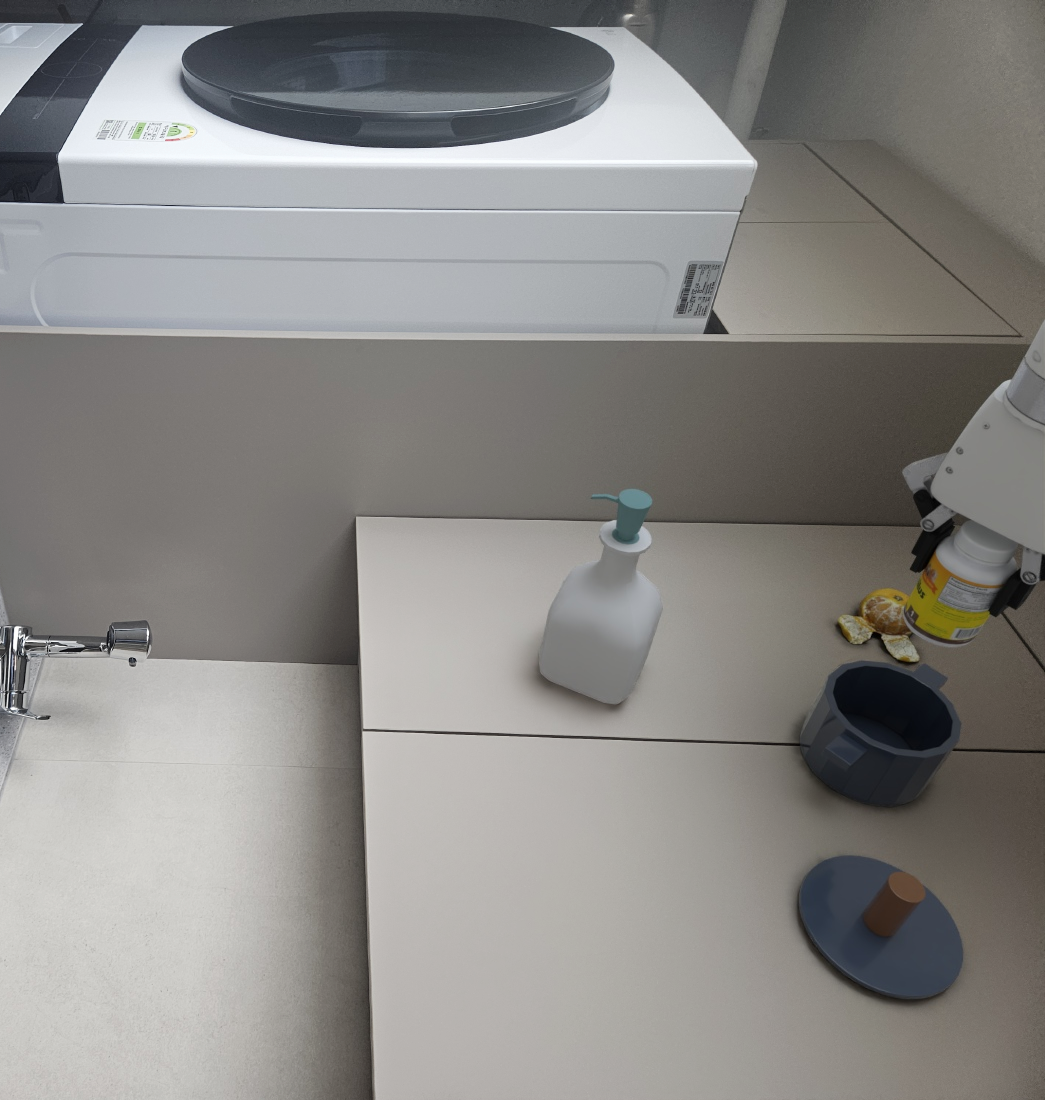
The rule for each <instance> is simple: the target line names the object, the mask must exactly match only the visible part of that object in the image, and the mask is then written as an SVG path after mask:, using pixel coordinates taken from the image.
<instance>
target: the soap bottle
mask: <svg viewBox="0 0 1045 1100" xmlns="http://www.w3.org/2000/svg"><path fill="white" fill-rule="evenodd" d="M590 500H608V501H610V502H613V503H617V512H616V519H612V520H610V521H607V522H605V523H604V524H602V526H601V527H600V530H599V534H598V539H599V541H600V543H601V544H602V546H603V548H602V552H601V556H600V559H596V560H591V561H587V562H586V561H585V562H583V563H581V564H579V565H577V566H574V567H573V568H572V569H571V570H570V572H569V573H568V574H567V576H565V578H564V580H563V581H562V583H561V586H560V588H559V589H558V592H557V593H556V595H555V597H554V599H553V600H552V602H551V604H550V607H549V609H548V611H547V616H546V622H545V626H544V630H543V635H542V641H541V644H540V649H539V653H538V663H539V672H540V674H541V675H542V676H543V677H544V678H546V679H547V680H548V681H549V682H551V683H554V684H556V685H558V686H561V687H563V688H565V689H569V690H571V691H573V692H576V693H578V694H580V695H584V696H586V697H588V698H590V699H594V700H596V701H598V702H600V703H603V704H609V705H618V704H621V703H622V702H623V701H625V700H627V699H628V697H629V696H630V695H631V694H632V693H633V690H634V688H635V686H636V683H637V681H638V679H639V677H640V675H641V672H642V670H643V668H644V666H645V663H646V661H647V660H648V656H649V653H650V651H651V647H652V645H653V641H654V637H655V636H656V635H655V634H656V632H657V628H658V626H659V623H660V620H661V617H662V614H663V610H664V604H663V601H662V595H661V593H660V590H659V588H658V587H657V586H656V585H655V584H654V583H653V582H652V581H651V580H649V578H647V577H646V576H645V575H644V574H643V573H642V572H641V571H640V570H638V569H637V566H638V563H639V559H640V556H641V555H642V554H645V553H646V552H648V550H649V549H650V548H651V545H652V538H653V537H652V536H651V535H652V534H651V533H650V531H649V530H648V529H646V527H644V526H643V525H644V523H645V519H646V518H647V516H648V513H649V511H650V509H651V506H652V504H653V498H652V497H651V495H650V494H648V493H647V492H646V491H643V490H641V489H637V488H626V489H624V490H622V491H621V492H619V494H618V496H615V495H611V494H609V493H600V494H599V493H597V494H596V493H595V494H591V496H590Z"/></svg>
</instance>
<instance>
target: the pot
mask: <svg viewBox="0 0 1045 1100" xmlns="http://www.w3.org/2000/svg"><path fill="white" fill-rule="evenodd" d="M948 680H949V677H948V676H946V675H944V674H942V673H941V672H939V671H938V670H936V669H935V668H933V667H931V666H930V665H928V664H926V663H925V662H923V663H922V664H920V665H919V666H918V667H916V669H914V670H910V669H907V668H903V667H901V666H899V665H895V664H893V663H890V662H884V661H874V660H865V659H863V660H862V659H861V660H857V661H852V662H851V661H850V662H847V663H842V664H840V666H838V667H837V668H836V669H834V670H833V671H832V672H831V673H830V674H828V676H827V677H826V679H825V681H824V683H823V684H822V687H821V689H820V691H819V693H818V695H817V697H816V699H815V701H814V702H813V705H812V706H811V708H810V710H809V712H808V713H807V716H806V717H805V720H804V722H803V726H802V728H801V730H800V733H799V747H800V751H801V754H802V757H803V759H804V761H805V763H806V764H807V766H808V767H809V769H810V770H811V771H812V772H813V773H814V775H815V776H816V777H818V778H819V779H820V780H821V782H823V783H824V784H826V785H827V786H828V787H829V788H830V789H832V790H834V791H835V792H837V793H839V794H841V795H842V796H845V797H846V798H848V799H851V800H853V801H856V802H859V803H861V804H866V805H869V806H876V807H898V806H903V805H905V804H909V803H910V802H912V801H914V800H915V799H917V798H918V797H919V796H920V795H921V794H922V793H923V791H925V790H926V788H927V787H928V786H929V785H930V783H931V782H932V780H933V779H934V778H935V776H936V775H937V773H938V772H939V771H940V769H941V768H942V766H943V765H944V764H945V762H946V760H948V758H949V756H950V755H951V753H952V752H953V750H954V749H955V747H956V746H957V745H958V743H959V742H960V740H961V731H962V720H961V719H960V716H959V714H958V712H957V709H956V708H955V705H954V704H953V702H952V701H951V700H950V699H949V697H947V696H946V695H945V694H944V693H943V692H942V691H941V690H940V689H942V687H944V686H945V684H946V682H947V681H948Z"/></svg>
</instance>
